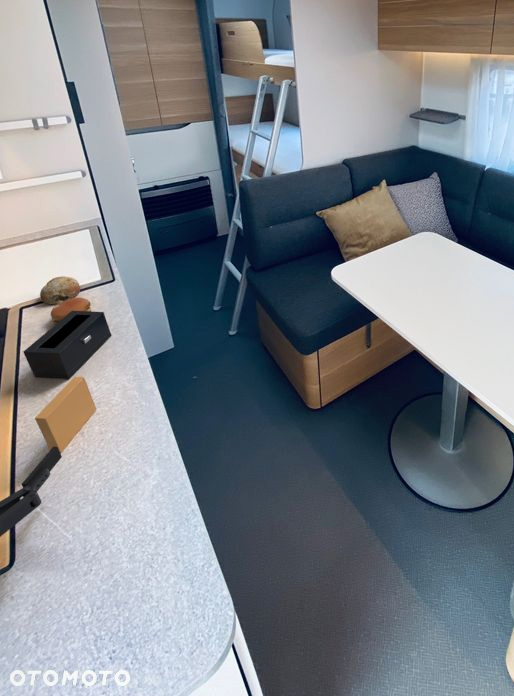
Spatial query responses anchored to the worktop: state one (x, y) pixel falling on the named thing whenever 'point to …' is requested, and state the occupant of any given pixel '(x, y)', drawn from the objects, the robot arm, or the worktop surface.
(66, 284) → the rock
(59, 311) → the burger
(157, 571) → the worktop surface
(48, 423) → the toast
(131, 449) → the worktop surface
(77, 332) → the toaster
